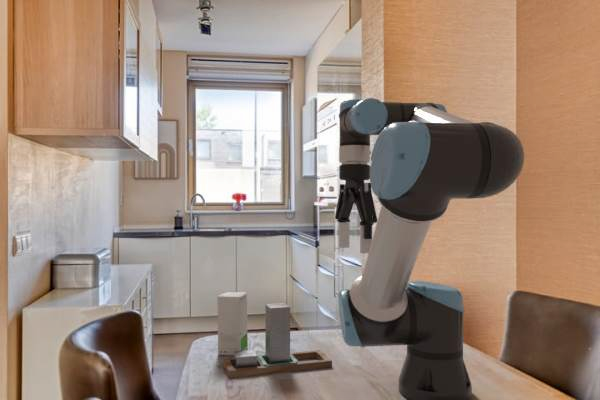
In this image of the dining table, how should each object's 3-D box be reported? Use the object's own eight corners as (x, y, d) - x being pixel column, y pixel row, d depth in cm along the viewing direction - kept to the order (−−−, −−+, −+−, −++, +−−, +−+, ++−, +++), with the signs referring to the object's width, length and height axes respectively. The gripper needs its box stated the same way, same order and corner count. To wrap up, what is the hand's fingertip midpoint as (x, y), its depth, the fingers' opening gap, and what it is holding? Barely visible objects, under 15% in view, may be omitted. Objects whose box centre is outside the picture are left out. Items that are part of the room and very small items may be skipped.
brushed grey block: (290, 368, 122) (290, 307, 122) (270, 370, 120) (270, 308, 120) (284, 361, 127) (284, 302, 127) (265, 363, 125) (265, 304, 125)
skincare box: (240, 356, 131) (240, 297, 131) (215, 355, 132) (215, 296, 132) (248, 347, 139) (248, 291, 139) (225, 346, 140) (225, 290, 140)
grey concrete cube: (257, 372, 119) (257, 355, 119) (236, 374, 118) (236, 357, 118) (254, 365, 124) (254, 349, 124) (233, 367, 123) (234, 351, 123)
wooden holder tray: (332, 366, 123) (332, 359, 123) (229, 377, 115) (229, 369, 115) (319, 355, 132) (319, 348, 132) (223, 364, 124) (223, 357, 124)
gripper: (392, 160, 112) (391, 255, 112) (349, 167, 136) (348, 245, 136) (361, 159, 110) (361, 256, 110) (323, 166, 134) (323, 245, 134)
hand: (354, 250), depth 123 cm, fingers open, 13 cm apart
